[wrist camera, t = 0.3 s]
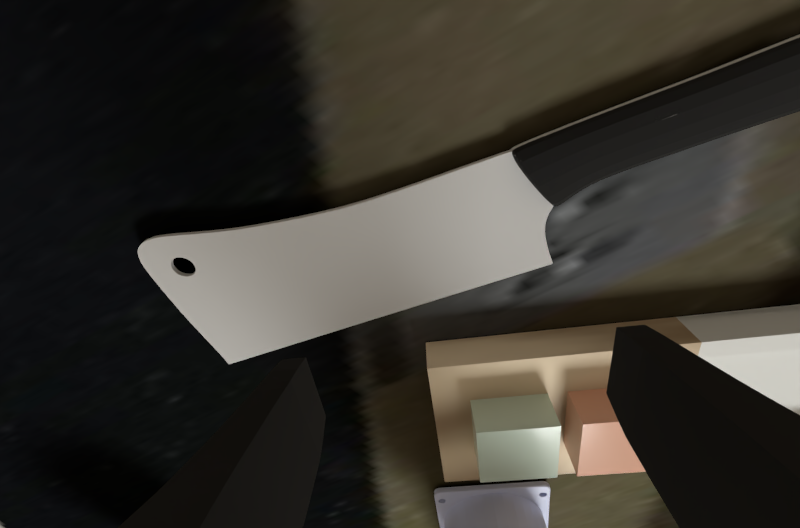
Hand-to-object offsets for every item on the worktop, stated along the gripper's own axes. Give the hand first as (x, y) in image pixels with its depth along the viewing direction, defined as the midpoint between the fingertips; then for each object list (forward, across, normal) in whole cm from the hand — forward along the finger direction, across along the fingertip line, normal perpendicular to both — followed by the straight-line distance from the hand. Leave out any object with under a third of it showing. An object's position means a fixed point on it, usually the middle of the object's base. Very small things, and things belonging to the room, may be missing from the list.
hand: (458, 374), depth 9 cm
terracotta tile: (+8, -8, +11) cm, 16 cm away
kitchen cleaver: (+10, -2, 0) cm, 10 cm away
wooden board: (+10, -5, +12) cm, 16 cm away
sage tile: (+8, -3, +11) cm, 14 cm away
